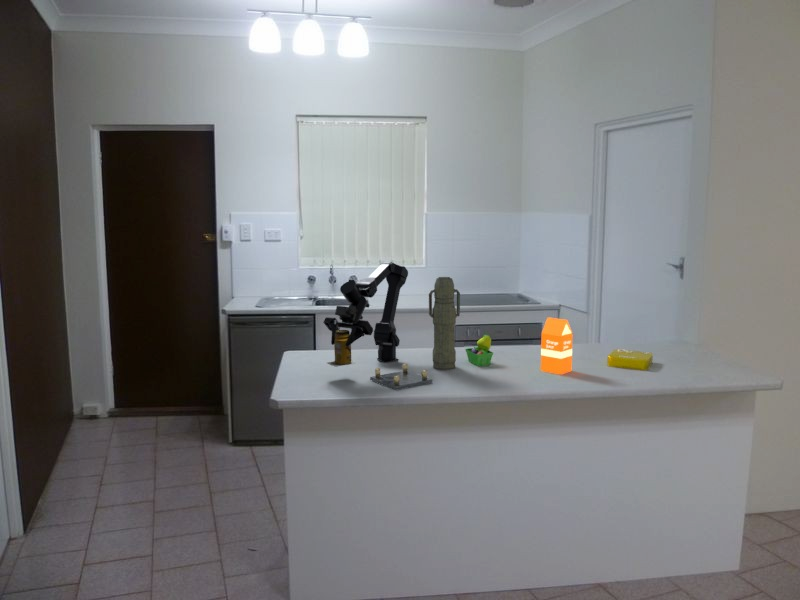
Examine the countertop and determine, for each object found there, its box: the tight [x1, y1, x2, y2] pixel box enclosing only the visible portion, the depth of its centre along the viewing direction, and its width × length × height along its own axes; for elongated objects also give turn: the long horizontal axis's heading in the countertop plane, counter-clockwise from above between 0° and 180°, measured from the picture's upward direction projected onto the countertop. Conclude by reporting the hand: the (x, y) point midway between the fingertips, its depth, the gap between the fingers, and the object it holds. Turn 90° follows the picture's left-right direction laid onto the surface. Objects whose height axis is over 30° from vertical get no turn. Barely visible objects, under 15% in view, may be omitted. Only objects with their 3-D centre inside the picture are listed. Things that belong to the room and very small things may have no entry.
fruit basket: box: [464, 334, 494, 367], centre depth 267 cm, size 11×9×11 cm
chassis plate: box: [369, 363, 433, 391], centre depth 241 cm, size 16×16×4 cm
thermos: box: [428, 276, 461, 371], centre depth 259 cm, size 9×12×35 cm
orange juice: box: [540, 317, 574, 376], centre depth 254 cm, size 8×9×20 cm
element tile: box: [606, 348, 654, 371], centre depth 264 cm, size 15×15×5 cm
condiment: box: [326, 329, 356, 368], centre depth 244 cm, size 7×8×12 cm
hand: (339, 345), depth 243 cm, fingers closed on condiment, 6 cm apart
